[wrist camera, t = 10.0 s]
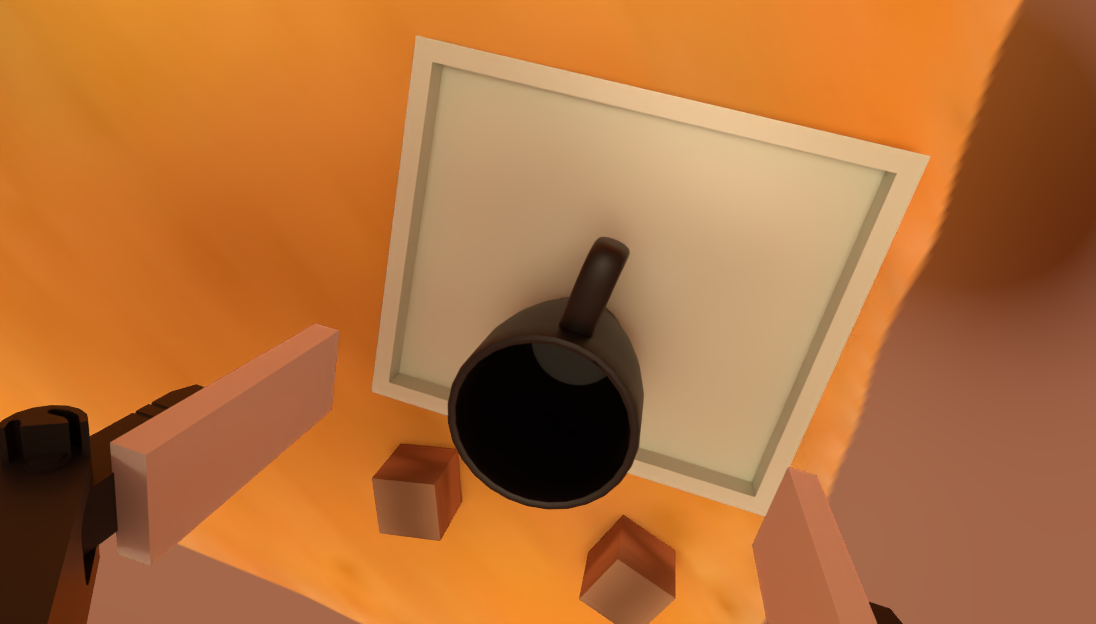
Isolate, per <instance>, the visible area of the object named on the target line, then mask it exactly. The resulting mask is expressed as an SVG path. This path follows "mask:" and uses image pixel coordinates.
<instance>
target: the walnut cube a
mask: <svg viewBox="0 0 1096 624" xmlns="http://www.w3.org/2000/svg"><path fill="white" fill-rule="evenodd" d="M372 481H373V489H374V496H375V503H376V510H377V517H378V524H379V531H380V533H382V534H390V535H398V536H406V537H413V538H421V539H429V540H437V541H440V540H441V539H442V537H443V535H444V533H445V531H446V529H447V528H448V526H449V524H450V522H451V520H452V519H453V517H454V515H455V513H456V511H457V509H458V508H459V506H460V504H461V502H462V493H461V482H460V470H459V458H458V451H457V449H450V448H440V447H429V446H419V445H409V444H400V445H399V447H398V448H397V449H396V450H395V451H394V453H393V454H392V455H391V456H390V457H389V459H388V460H387V461H386V462H385V463H384V464H383V466H382V467H381V468H380V469H379V470H378V472H377V473H376V474H375V475H374V476H373V478H372Z"/></svg>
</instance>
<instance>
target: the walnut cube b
mask: <svg viewBox="0 0 1096 624" xmlns="http://www.w3.org/2000/svg"><path fill="white" fill-rule="evenodd" d="M674 599H675V550H674V549H672V548H671V547H669V546H668V545H667V544H665V543H664V542H662V541H661V540H659V539H658V538H656V537H655V536H653V535H652V534H650V533H649V532H648V531H646V530H645V529H643V528H642V527H640V526H639V525H637V524H636V523H634V522H633V521H632V520H630V519H629V518H627V517H626V516H624V515H623V516H622V517H621V518H620V519H619V520H618V521H617V522H616V523H615V524H614V525H613V527H612V528H611V529H610V530H609V531H608V532H607V533H606V534H605V535H604V536H603V537H602V538H601V540H600V541H599V542H598V543H597V544H596V545H595V546H594V547H593V548H592V549H591V550H590V551H589V553H588V556H587V561H586V567H585V572H584V577H583V582H582V587H581V592H580V597H579V600H581V601H582V602H584V603H585V604H587V605H588V606H590V607H591V608H592V609H594V610H595V611H597V612H598V613H600V614H601V615H603V616H604V617H606V618H607V619H609V620H610V621H612V622H613V623H614V624H649V623H650V622H651V621H652V620H653V619H654V618H655V617H656V616H657V615H658V614H659V613H661V612H662V611H663V610H664V609H665V608H666V607H667V606H668V605H669V604H670V603H671V602H672V601H673V600H674Z"/></svg>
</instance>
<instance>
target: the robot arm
mask: <svg viewBox="0 0 1096 624" xmlns="http://www.w3.org/2000/svg"><path fill="white" fill-rule="evenodd" d="M338 339H339V330H336V329H333V328H330V327H326V326H323V325H320V324H317V323H315V324H313V325H312V326H310V327H308V328H306V329H305V330H303V331H301V332H300V333H298V334H296V335H294V336H293V337H291V338H289V339H287V340H286V341H284V342H282V343H281V344H279V345H277V346H275V347H274V348H272V349H270V350H268V351H267V352H265V353H263V354H262V355H260V356H258V357H256V358H255V359H253V360H251V361H250V362H248V363H246V364H244V365H243V366H241V367H239V368H237V369H236V370H234V371H232V372H231V373H229V374H227V375H225V376H224V377H222V378H220V379H219V380H217V381H215V382H213V383H212V384H210V385H208V386H206V387H202V386H199V385H193V386H189V387H186V388H182V389H178V390H175V391H172V392H170V393H168V394H166V395H164V396H162V397H161V398H159V399H157V400H155V401H153V402H152V404H151V405H149V404H148V405H146V406H144V407H142V408H141V409H139V410H137V411H136V413H135V414H134V413H132V414H130V415H128V416H126V417H124V418H122V419H121V420H119V421H117V422H115V423H113V424H112V425H110V426H108V427H106V428H104V429H102V430H101V431H99V432H97V433H95V434H93V435H91V436H90V437H89V425H88V417H87V414H86V413H85V412H83V411H82V410H81V409H79V408H74V407H70V406H60V405H49V406H42V407H35V408H31V409H27V410H24V411H21V412H17V413H15V414H13V415H11V416H9V417H7V418H6V419H4V420H2V421H1V422H0V624H87V618H88V613H89V609H90V603H91V598H92V593H93V588H94V583H95V578H96V573H97V568H98V563H99V558H100V555H99V544H100V543H102V542H103V541H104V540H106V539H107V538H109V537H110V536H111V535H113V534H114V533H115V532H116V536H117V550H118V554H119V555H122V556H124V557H127V558H130V559H133V560H135V561H138V562H141V563H143V564H146V565H149V566H151V565H153V564H154V563H155V562H156V561H157V560H158V559H160V558H161V557H162V556H163V555H164V554H165V553H166V552H168V551H169V550H170V549H171V548H172V547H173V546H175V545H176V544H177V543H178V542H179V541H180V540H182V539H183V538H184V537H185V536H186V535H187V534H189V533H190V532H191V531H192V530H193V529H194V528H195V527H197V526H198V525H199V524H200V523H201V522H202V521H204V520H205V519H206V518H207V517H208V516H209V515H211V514H212V513H213V512H214V511H215V510H216V509H217V508H219V507H220V506H221V505H222V504H223V503H224V502H226V501H227V500H228V499H229V498H230V497H231V496H233V495H234V494H235V493H236V492H237V491H238V490H239V489H241V488H242V487H243V486H244V485H245V484H246V483H248V482H249V481H250V480H251V479H252V478H253V477H255V476H256V475H257V474H258V473H259V472H260V471H261V470H263V469H264V468H265V467H266V466H267V465H268V464H270V463H271V462H272V461H273V460H274V459H275V458H277V457H278V456H279V455H280V454H281V453H282V452H283V451H285V450H286V449H287V448H288V447H289V446H290V445H292V444H293V443H294V442H295V441H296V440H297V439H299V438H300V437H301V436H302V435H303V434H304V433H305V432H307V431H308V430H309V429H310V428H311V427H312V426H314V425H315V424H316V423H317V422H318V421H319V420H321V419H322V418H323V417H324V416H325V415H326V414H327V413H329V412H330V411H331V410H332V400H333V390H334V380H335V370H336V359H337V349H338ZM752 546H753V552H754V557H755V562H756V567H757V573H758V578H759V583H760V588H761V594H762V599H763V604H764V609H765V615H766V620H767V624H902V622H901V621H900V620H899V619H898V618H897V616H896V615H895V614H894V613H893V611H892V610H891V609H890V608H886V607H883V606H880V605H877V604H874V603H871V602H868V600H867V597H866V595H865V592H864V590H863V587H862V585H861V582H860V580H859V577H858V575H857V573H856V570H855V568H854V565H853V563H852V561H851V558H850V555H849V553H848V551H847V548H846V546H845V543H844V541H843V538H842V536H841V533H840V531H839V528H838V526H837V524H836V521H835V519H834V516H833V514H832V511H831V509H830V507H829V504H828V501H827V499H826V497H825V494H824V492H823V489H822V487H821V484H820V482H819V479H818V477H817V475H814V474H811V473H808V472H804V471H801V470H798V469H794V468H791V467H788V468H787V470H786V472H785V474H784V476H783V479H782V481H781V483H780V485H779V487H778V490H777V492H776V494H775V496H774V498H773V501H772V503H771V505H770V507H769V509H768V512H767V514H766V516H765V518H764V520H763V523H762V525H761V527H760V529H759V531H758V534H757V536H756V538H755V540H754V542H753V545H752Z"/></svg>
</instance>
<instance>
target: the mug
mask: <svg viewBox="0 0 1096 624" xmlns="http://www.w3.org/2000/svg"><path fill="white" fill-rule="evenodd" d="M629 255H630V252H629V248H628V247H627V246H626V245H625V244H623V243H621V242H620V241H618V240H616V239H613V238H609V237H599V238H598V239H597V240H596V241H595V242H594V244H593V245H592V247H591V249H590V251H589V253H588V255H587V257H586V259H585V261H584V264H583V266H582V268H581V270H580V273H579V275H578V277H577V280H576V282H575V284H574V287H573V289H572V292H571V294H570V297H566V298H560V299H555V300H548V301H545V302H542V303H539V304H536V305H533V306H531V307H528V308H525V309H523V310H521V311H519V312H518V313H516V314H515V315H513V316H512V317H510V318H509V319H507V320H506V321H504V322H503V323H501V324H500V325H499V326H497V327H496V328H495V329H494V330H493V331H492V332H491V333H490V334H489V335H488V336H487V337H486V339H485V340H484V341H483V342H482V343H481V344H480V345H479V346H478V347H477V349H476V350H475V351H474V352H473V353H472V354H471V355H470V357H469V358H468V359H467V360H466V361H465V362H464V364H463V365H462V366H461V367H460V369H459V371H458V373H457V375H456V377H455V379H454V381H453V383H452V386H451V390H450V395H449V399H448V424H449V428H450V432H451V436H452V440H453V443H454V445H455V447H456V449H457V451H458V453H459V455H460V456H461V458H462V460H463V461H464V463H465V464H466V465H467V466H468V468H469V469H470V470H471V471H472V473H473V474H474V475H475V476H476V477H477V478H478V479H480V480H481V481H482V482H483V483H484V484H485V485H486V486H488V487H489V488H490V489H492V490H493V491H495V492H497V493H499V494H500V495H502V496H504V497H505V498H507V499H509V500H512V501H515V502H518V503H520V504H523V505H526V506H530V507H537V508H543V509H569V508H573V507H577V506H581V505H586V504H588V503H590V502H593V501H595V500H597V499H599V498H601V497H603V496H605V495H606V494H607V493H608V492H610V491H611V490H612V489H613V488H614V487H616V486H617V485H618V484H619V483H620V482H621V481H622V479H623V478H624V477H625V475H626V474H627V472H628V471H629V470H630V468H631V467H632V465H633V462H634V460H635V457H636V454H637V452H638V449H639V442H640V432H641V423H642V413H643V402H644V391H643V384H642V377H641V371H640V365H639V362H638V359H637V356H636V353H635V351H634V349H633V346H632V344H631V341H630V339H629V337H628V336H627V334H626V333H625V331H624V330H623V328H622V327H621V325H620V323H619V322H618V320H617V319H616V318H615V316H614V315H613V314H612V313H611V312H610V311H609V310H608V309H607V308H606V305H607V303H608V300H609V298H610V296H611V294H612V292H613V289H614V287H615V285H616V283H617V281H618V279H619V276H620V274H621V272H622V270H623V268H624V266H625V264H626V261H627V259H628V257H629Z"/></svg>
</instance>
